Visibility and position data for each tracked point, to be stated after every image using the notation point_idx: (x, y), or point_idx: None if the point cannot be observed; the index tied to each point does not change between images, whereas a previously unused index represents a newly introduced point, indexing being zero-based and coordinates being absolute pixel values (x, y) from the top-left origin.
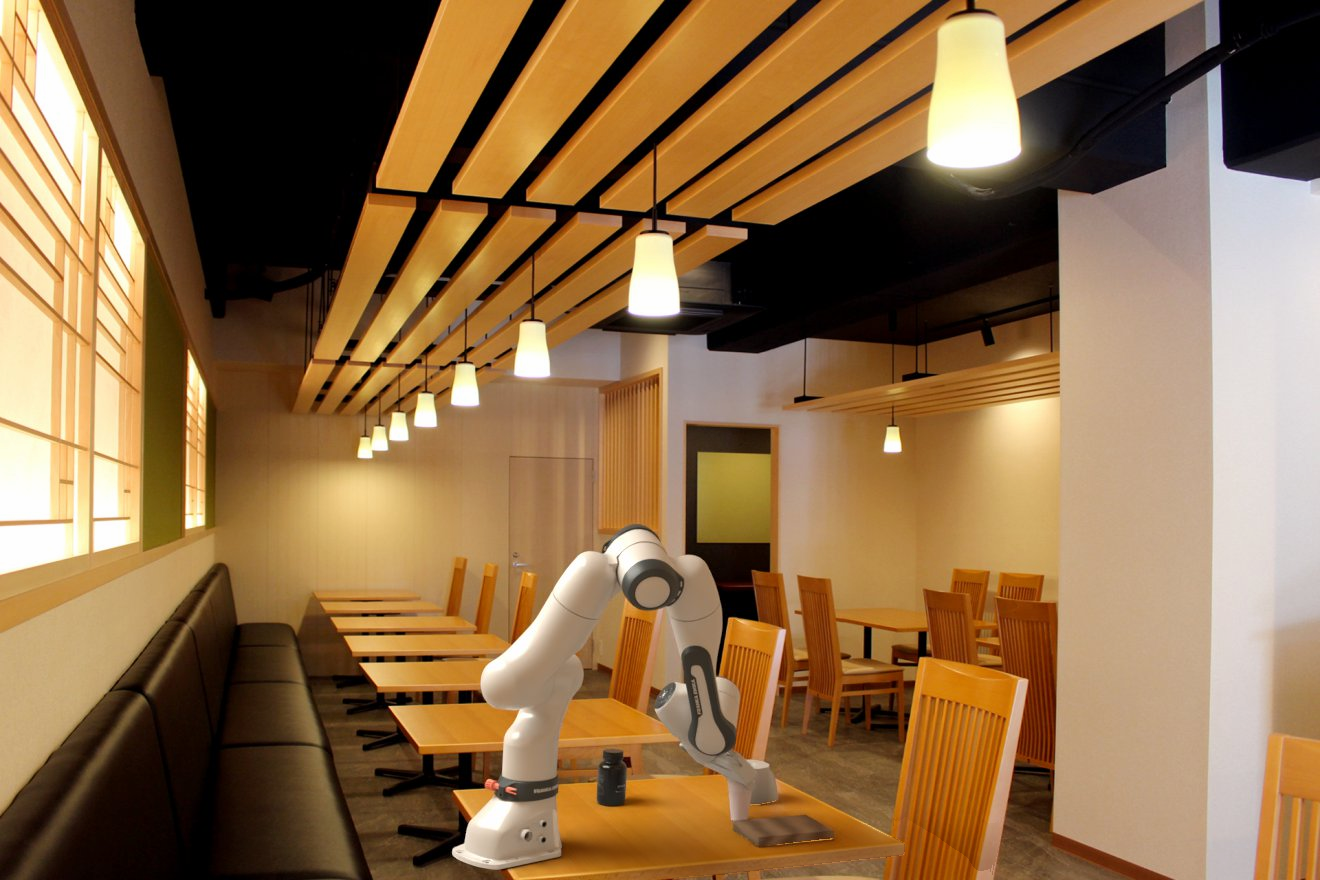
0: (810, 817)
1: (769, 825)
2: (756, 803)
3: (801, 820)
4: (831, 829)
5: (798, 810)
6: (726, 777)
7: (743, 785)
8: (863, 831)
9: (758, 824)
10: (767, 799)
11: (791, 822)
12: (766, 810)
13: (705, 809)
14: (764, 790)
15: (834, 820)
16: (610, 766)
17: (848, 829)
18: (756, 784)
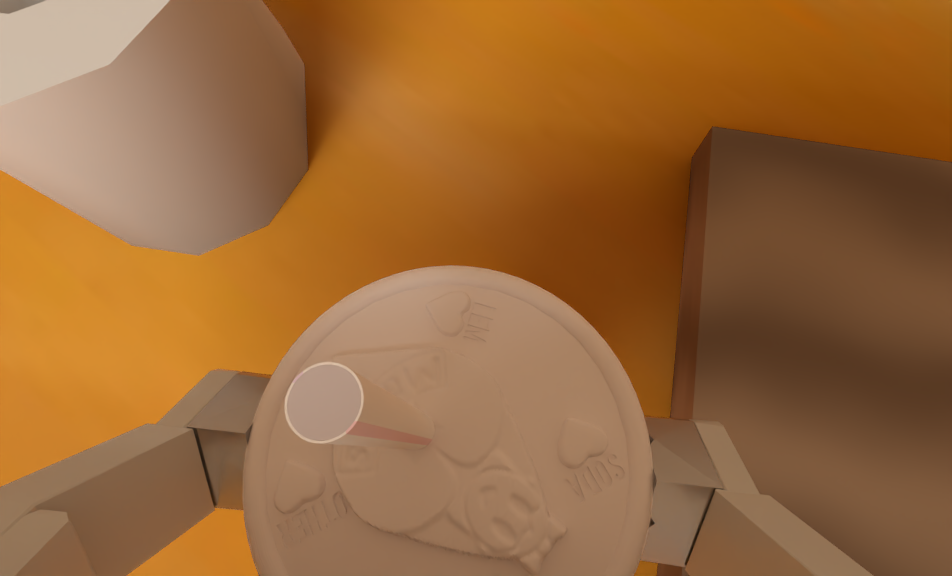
0: (776, 139)
1: (878, 495)
2: (295, 173)
3: (819, 219)
4: None
5: (479, 56)
6: (215, 507)
7: (641, 558)
8: (891, 10)
9: None
10: (297, 97)
11: (845, 302)
12: (397, 186)
13: None
14: (274, 79)
15: (690, 16)
16: None
17: (843, 44)
18: (239, 101)
